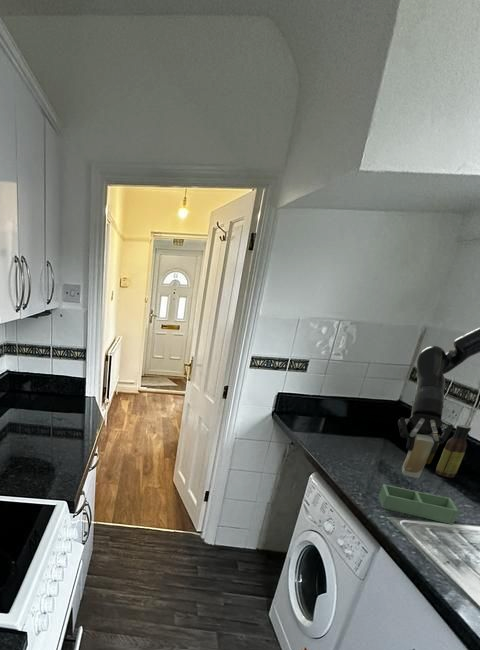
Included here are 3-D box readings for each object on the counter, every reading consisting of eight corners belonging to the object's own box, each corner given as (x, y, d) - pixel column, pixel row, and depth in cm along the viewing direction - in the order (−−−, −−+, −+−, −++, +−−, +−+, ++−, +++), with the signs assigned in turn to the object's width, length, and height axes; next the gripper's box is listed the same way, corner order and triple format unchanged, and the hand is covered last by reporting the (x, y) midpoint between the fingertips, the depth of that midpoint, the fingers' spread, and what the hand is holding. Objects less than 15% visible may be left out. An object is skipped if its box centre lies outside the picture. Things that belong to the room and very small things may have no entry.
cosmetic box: (401, 468, 133) (414, 432, 128) (417, 471, 131) (432, 435, 126) (402, 475, 128) (416, 438, 123) (419, 479, 126) (434, 441, 121)
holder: (445, 510, 133) (450, 498, 131) (452, 524, 125) (459, 511, 123) (378, 496, 140) (383, 484, 138) (381, 508, 132) (386, 495, 130)
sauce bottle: (456, 476, 160) (480, 428, 151) (450, 479, 156) (474, 430, 148) (436, 469, 165) (458, 422, 156) (430, 473, 161) (452, 425, 153)
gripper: (405, 393, 129) (397, 441, 124) (461, 401, 124) (455, 451, 119) (396, 406, 136) (388, 452, 131) (450, 414, 130) (444, 462, 125)
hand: (420, 451), depth 125 cm, fingers closed on cosmetic box, 4 cm apart
